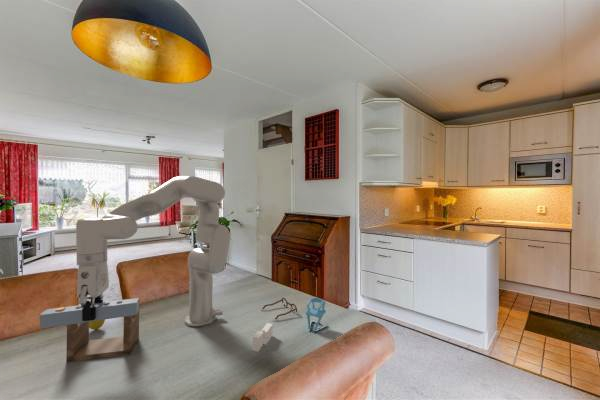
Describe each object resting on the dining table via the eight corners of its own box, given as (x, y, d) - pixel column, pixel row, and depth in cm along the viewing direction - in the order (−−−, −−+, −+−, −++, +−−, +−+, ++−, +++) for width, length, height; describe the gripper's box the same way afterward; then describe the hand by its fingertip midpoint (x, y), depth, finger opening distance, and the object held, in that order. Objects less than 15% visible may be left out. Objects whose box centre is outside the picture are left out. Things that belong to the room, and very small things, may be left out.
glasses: (297, 315, 125) (298, 305, 125) (273, 322, 118) (273, 311, 117) (283, 305, 136) (283, 296, 136) (260, 311, 128) (260, 301, 128)
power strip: (138, 309, 90) (138, 296, 89) (136, 314, 86) (136, 301, 86) (47, 322, 81) (46, 307, 80) (40, 328, 77) (39, 313, 77)
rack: (138, 339, 101) (139, 299, 101) (129, 354, 91) (130, 310, 91) (82, 345, 96) (82, 303, 96) (66, 362, 86) (67, 315, 86)
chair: (302, 330, 111) (303, 301, 111) (311, 321, 118) (312, 294, 118) (320, 334, 107) (320, 305, 107) (327, 326, 115) (328, 298, 114)
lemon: (95, 334, 103) (95, 313, 103) (83, 332, 104) (83, 312, 104) (108, 327, 109) (108, 308, 108) (96, 326, 110) (97, 306, 110)
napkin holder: (270, 332, 109) (270, 318, 109) (286, 344, 100) (286, 329, 100) (236, 344, 100) (236, 328, 100) (250, 359, 91) (250, 342, 91)
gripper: (93, 264, 75) (94, 328, 76) (116, 251, 92) (117, 304, 92) (61, 266, 73) (62, 331, 74) (91, 252, 90) (91, 306, 90)
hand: (93, 315), depth 83 cm, fingers closed on power strip, 4 cm apart
